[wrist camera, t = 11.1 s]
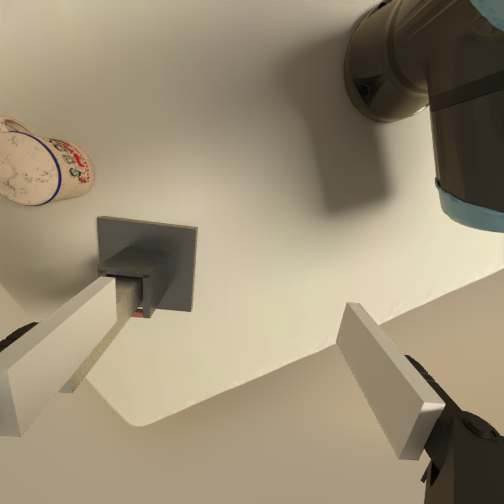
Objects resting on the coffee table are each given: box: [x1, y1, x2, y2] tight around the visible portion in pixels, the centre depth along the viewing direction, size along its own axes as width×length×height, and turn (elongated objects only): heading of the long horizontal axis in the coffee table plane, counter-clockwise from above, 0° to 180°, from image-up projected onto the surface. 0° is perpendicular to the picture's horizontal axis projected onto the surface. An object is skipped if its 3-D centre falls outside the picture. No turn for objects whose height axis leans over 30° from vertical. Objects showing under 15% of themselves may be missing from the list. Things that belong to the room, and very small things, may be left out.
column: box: [59, 275, 143, 393], centre depth 30 cm, size 5×4×18 cm
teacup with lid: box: [0, 116, 94, 206], centre depth 34 cm, size 12×9×12 cm
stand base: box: [98, 216, 198, 318], centre depth 41 cm, size 16×16×10 cm
